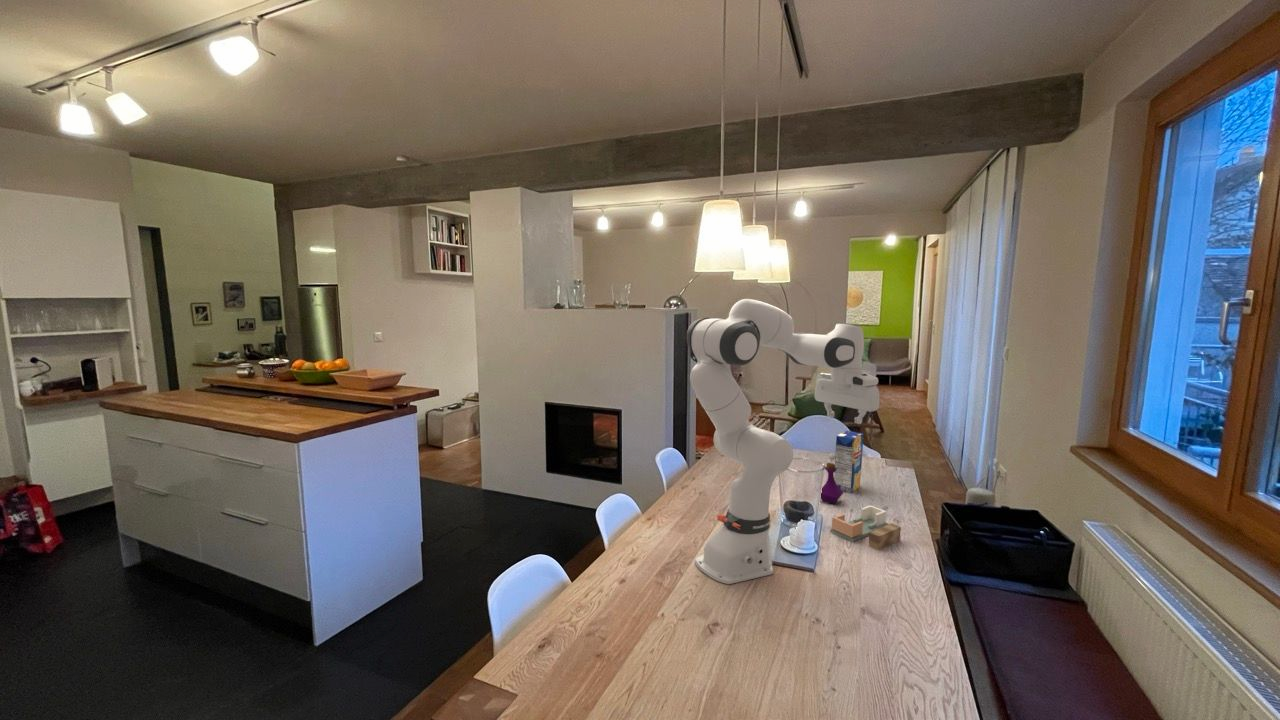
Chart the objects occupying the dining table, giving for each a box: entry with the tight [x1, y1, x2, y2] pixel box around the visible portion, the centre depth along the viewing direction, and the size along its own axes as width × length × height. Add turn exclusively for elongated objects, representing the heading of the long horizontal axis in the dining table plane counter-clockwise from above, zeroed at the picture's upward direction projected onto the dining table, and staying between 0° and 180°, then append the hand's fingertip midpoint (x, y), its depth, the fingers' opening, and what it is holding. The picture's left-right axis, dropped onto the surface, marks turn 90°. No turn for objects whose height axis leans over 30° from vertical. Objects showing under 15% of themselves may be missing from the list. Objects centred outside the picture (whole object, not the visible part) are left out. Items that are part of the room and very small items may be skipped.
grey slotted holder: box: [830, 504, 890, 543], centre depth 160 cm, size 20×8×5 cm, turn 123°
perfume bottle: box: [820, 453, 844, 505], centre depth 183 cm, size 8×8×18 cm
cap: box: [831, 513, 863, 537], centre depth 156 cm, size 6×7×4 cm
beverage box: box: [833, 430, 865, 494], centre depth 197 cm, size 7×11×22 cm, turn 138°
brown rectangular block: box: [867, 523, 902, 551], centre depth 151 cm, size 12×3×4 cm, turn 123°
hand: (844, 420), depth 151 cm, fingers open, 8 cm apart
